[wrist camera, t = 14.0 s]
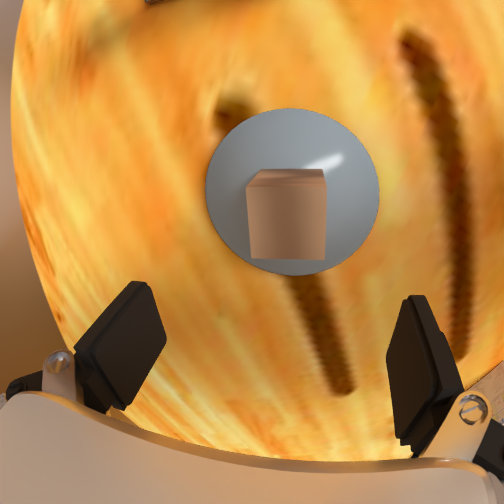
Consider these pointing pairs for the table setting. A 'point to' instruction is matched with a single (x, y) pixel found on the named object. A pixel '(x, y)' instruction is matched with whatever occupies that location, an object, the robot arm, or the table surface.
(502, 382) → the light bulb box
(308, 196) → the walnut block
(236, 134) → the dish
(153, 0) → the balance
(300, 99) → the table surface
